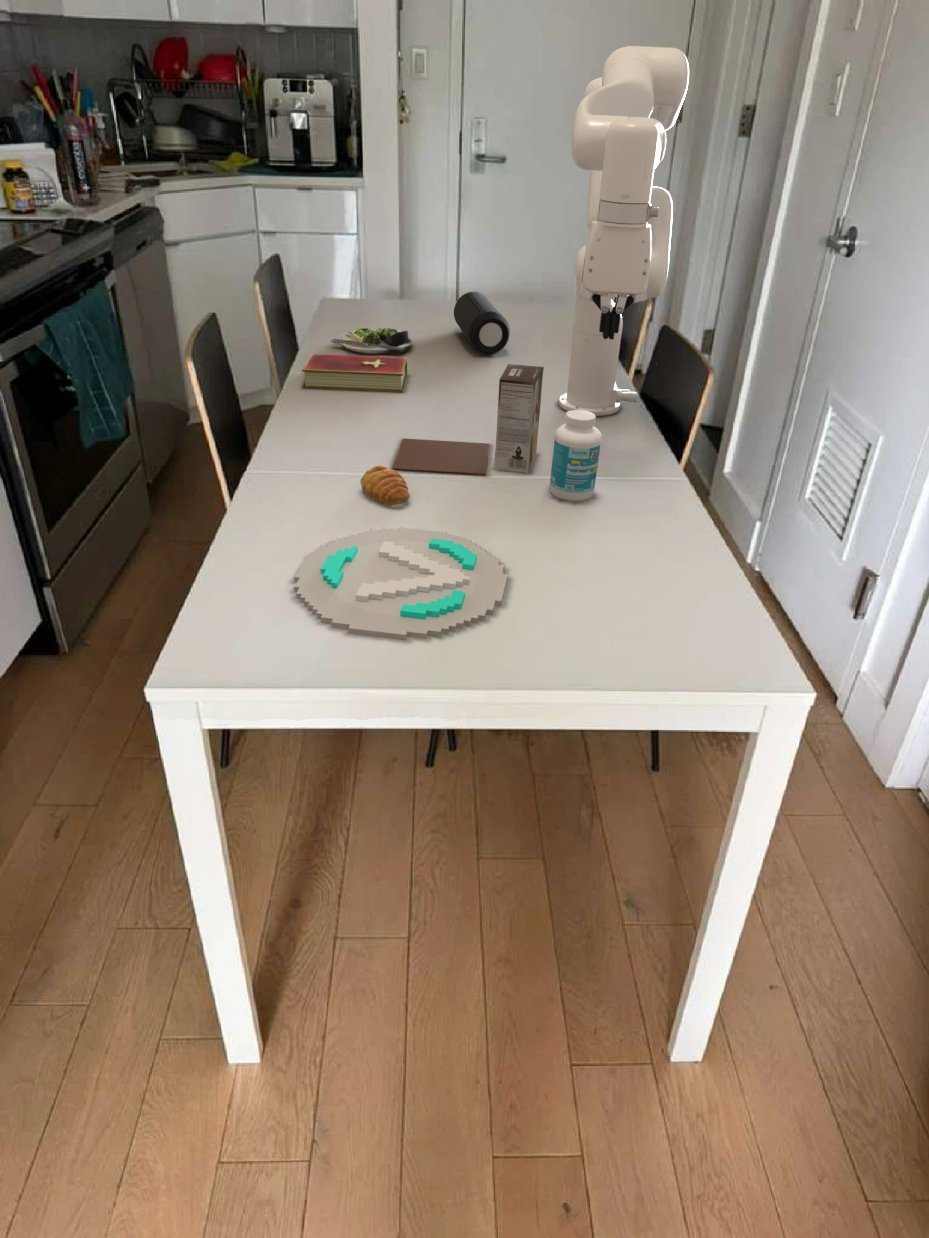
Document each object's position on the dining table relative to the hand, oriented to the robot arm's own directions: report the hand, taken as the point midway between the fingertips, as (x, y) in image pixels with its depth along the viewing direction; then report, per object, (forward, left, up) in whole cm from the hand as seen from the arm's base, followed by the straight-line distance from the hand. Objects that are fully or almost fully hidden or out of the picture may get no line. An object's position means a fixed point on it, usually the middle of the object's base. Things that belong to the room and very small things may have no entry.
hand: (608, 337), depth 143 cm
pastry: (+34, +17, -23) cm, 44 cm away
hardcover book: (+49, -40, -23) cm, 67 cm away
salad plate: (+48, -67, -23) cm, 86 cm away
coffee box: (+13, 0, -23) cm, 27 cm away
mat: (+26, 0, -23) cm, 35 cm away
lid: (+28, +44, -23) cm, 57 cm away
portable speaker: (+24, -75, -23) cm, 82 cm away
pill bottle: (+4, +12, -23) cm, 26 cm away
